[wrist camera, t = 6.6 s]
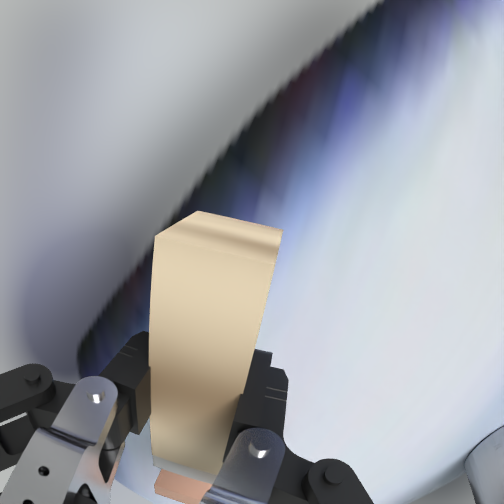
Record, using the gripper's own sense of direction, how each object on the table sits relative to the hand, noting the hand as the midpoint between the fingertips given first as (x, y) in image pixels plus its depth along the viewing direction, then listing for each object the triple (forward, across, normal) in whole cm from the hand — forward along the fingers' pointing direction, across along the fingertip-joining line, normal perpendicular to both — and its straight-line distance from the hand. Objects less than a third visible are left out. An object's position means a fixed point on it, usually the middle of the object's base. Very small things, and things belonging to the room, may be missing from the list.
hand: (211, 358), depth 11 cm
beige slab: (+1, 0, +2) cm, 2 cm away
